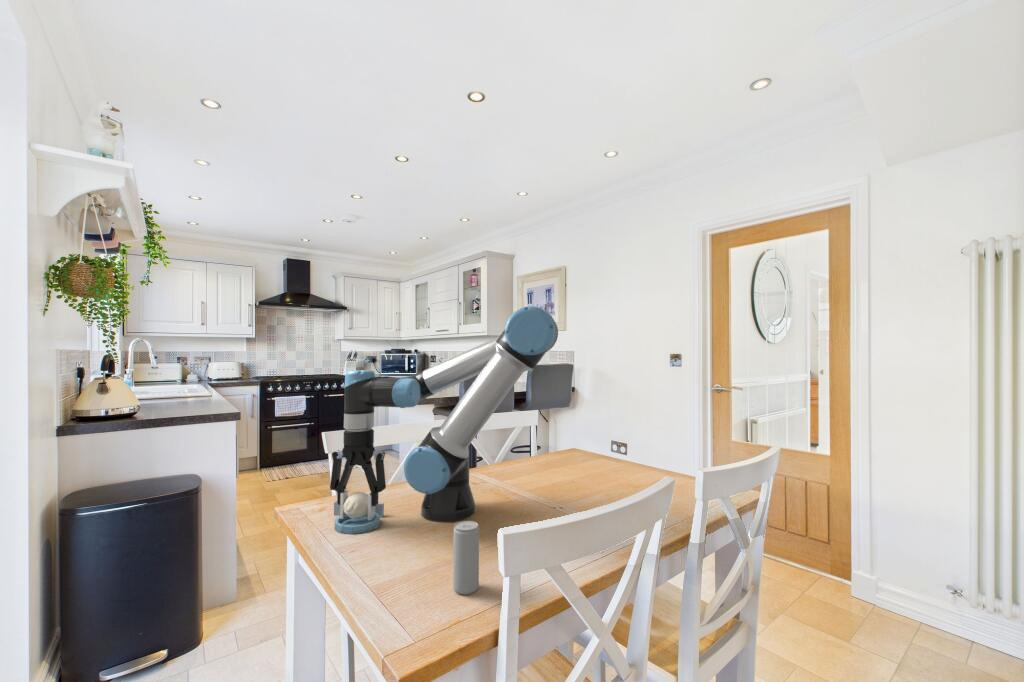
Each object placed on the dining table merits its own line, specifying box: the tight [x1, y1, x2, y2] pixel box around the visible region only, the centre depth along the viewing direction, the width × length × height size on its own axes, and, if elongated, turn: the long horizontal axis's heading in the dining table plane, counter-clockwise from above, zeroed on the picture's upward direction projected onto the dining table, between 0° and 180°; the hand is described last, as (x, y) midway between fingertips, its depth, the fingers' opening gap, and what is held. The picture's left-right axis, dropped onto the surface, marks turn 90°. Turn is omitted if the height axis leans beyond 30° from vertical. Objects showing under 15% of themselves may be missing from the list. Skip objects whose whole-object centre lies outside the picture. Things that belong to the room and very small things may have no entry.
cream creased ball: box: [343, 491, 369, 519], centre depth 116 cm, size 7×7×7 cm
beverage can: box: [452, 520, 480, 596], centre depth 84 cm, size 5×5×12 cm
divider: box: [333, 501, 385, 518], centre depth 123 cm, size 14×1×4 cm, turn 83°
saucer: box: [334, 513, 381, 535], centre depth 115 cm, size 11×11×2 cm
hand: (357, 517), depth 115 cm, fingers closed on cream creased ball, 7 cm apart
